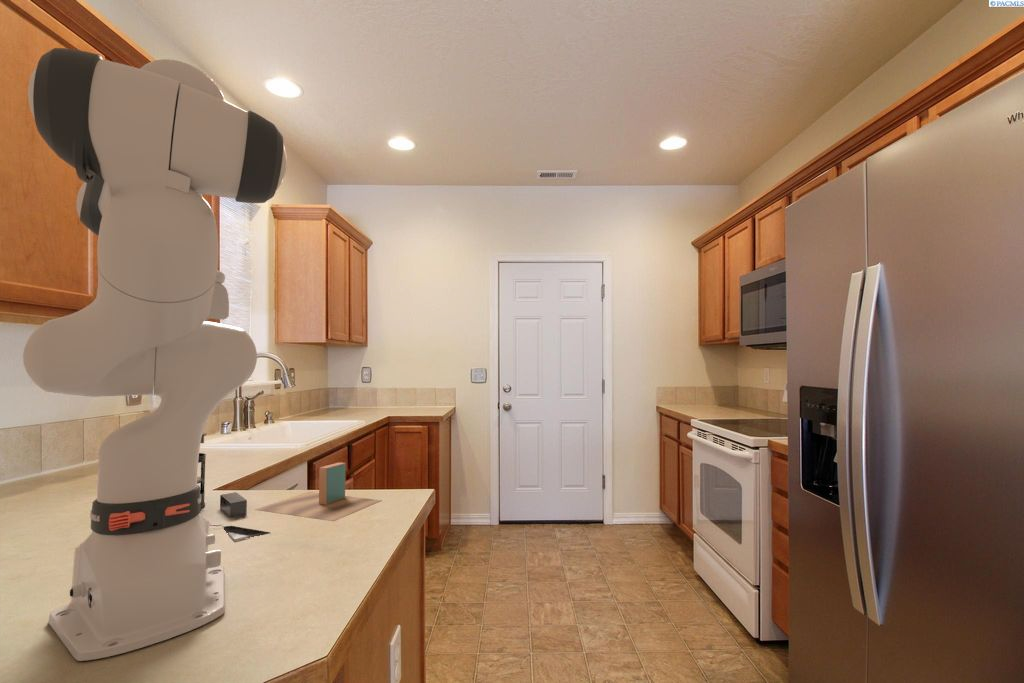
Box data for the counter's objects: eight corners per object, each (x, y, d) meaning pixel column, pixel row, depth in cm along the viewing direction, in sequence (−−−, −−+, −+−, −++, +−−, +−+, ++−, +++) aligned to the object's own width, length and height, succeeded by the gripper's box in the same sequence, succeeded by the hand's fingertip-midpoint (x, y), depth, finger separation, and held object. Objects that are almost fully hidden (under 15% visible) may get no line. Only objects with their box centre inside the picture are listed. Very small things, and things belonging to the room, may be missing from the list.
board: (382, 507, 103) (382, 500, 103) (333, 528, 89) (333, 521, 89) (309, 498, 111) (309, 491, 111) (254, 516, 97) (254, 509, 97)
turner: (270, 533, 87) (270, 509, 87) (234, 541, 83) (235, 516, 83) (243, 511, 101) (243, 490, 102) (211, 517, 97) (212, 496, 97)
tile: (345, 497, 106) (345, 463, 106) (326, 504, 100) (326, 468, 101) (338, 496, 106) (338, 462, 107) (318, 503, 101) (319, 467, 101)
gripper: (97, 256, 80) (89, 333, 79) (232, 274, 90) (225, 343, 90) (105, 260, 85) (98, 332, 85) (232, 277, 96) (226, 341, 96)
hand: (165, 338), depth 88 cm, fingers open, 8 cm apart
